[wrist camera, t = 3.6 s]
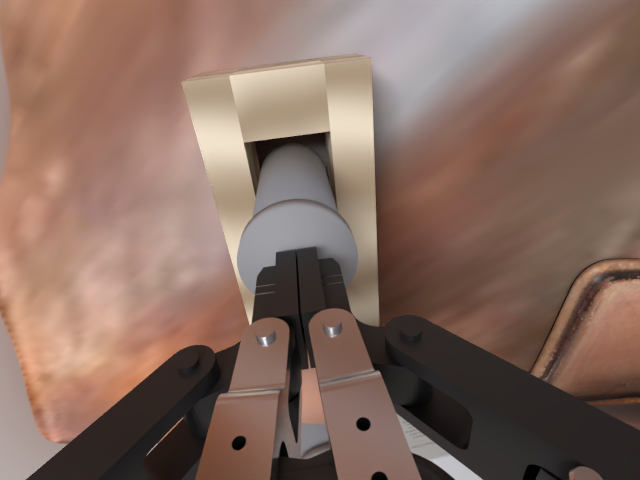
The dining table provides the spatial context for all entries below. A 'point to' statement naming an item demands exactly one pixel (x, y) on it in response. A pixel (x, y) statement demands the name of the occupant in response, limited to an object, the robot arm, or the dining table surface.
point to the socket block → (285, 121)
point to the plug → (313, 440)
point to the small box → (435, 453)
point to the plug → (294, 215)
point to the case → (599, 340)
